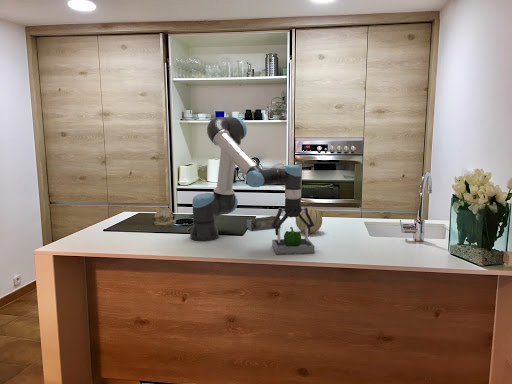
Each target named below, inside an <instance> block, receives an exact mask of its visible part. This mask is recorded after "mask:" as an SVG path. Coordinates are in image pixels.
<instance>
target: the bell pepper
mask: <svg viewBox="0 0 512 384" xmlns="http://www.w3.org/2000/svg"><path fill="white" fill-rule="evenodd" d="M289 229H290V231H288V230H286V231H285V232H284V234H283V239H284V242H285V245H286V247H291V246H300V243H301V239H302V235H301V232H300V231H295V230H294V227H292V226H290V227H289Z"/></svg>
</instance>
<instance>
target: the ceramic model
mask: <svg viewBox="0 0 512 384" xmlns="http://www.w3.org/2000/svg"><path fill="white" fill-rule="evenodd" d="M173 217H174V213H173V211H172V210H170V209H169V208H166V207H163V208H160V209H158V210H157V212H155V213H154V219H155V221H153V224H154V225H155V226H173V224H174V225H176V224H175V223H177V219H174V218H173Z"/></svg>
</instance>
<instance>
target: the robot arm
mask: <svg viewBox="0 0 512 384" xmlns="http://www.w3.org/2000/svg"><path fill="white" fill-rule="evenodd" d="M247 130H248V129H247V125H246V123H245V122H244V120H243V119H241V118H240V117H234V116H227V117H226V116H225V117H223V116H218V117H214V118H212V119H211V120H210V121H209V122H208V123H207V127H206V133H207V137H208V138H209V140H210V141H211V143H213V145H215V146H216V147H217V146H218V148H220V155H219V163H218V171H217V172H218V173H217V183H216V187H214V189H213V193H212V192H204V193H199V194H195V196H193V198H192V204H191V205H192V206H191V207H192V223H193V224H192V227H191V230H190V234H189V236H190V237H189V238H190V240H193V241H198V242H199V241H200V242H207V241H214V240H217V239H218V238H219V231H218V227H217V225H216V220H215V219H216V217H218V216H223V215H229V214H231V213H234V211H235V210H236V209H237V207H238V198H237V195H236V193H235V190H233V185H234V177H235V168H236V167H237V168H238V169H239V170H240V171H241V172H242V173H243V174H244V175H245V181H246V184H247V185H248V186H249V187H250V188H260V187H264V186H265V187H266V186H272V185H284V197H285V198H284V208H283V207H282V208H281V207H278V210H277V213H276V215H275V216H276V217H275V219H274V221H273V223H272V227H273V229H275V230H274V231H275V233H274V234H275V236H277V239H278V242H280V239H281V229H280V228H281V226H282V225H283V224H284V222H285V221H286V220H287V219H288V218H296V217H297V216H299V218H300V219H301V220H302V221H303V222H304V223H305V225H306V226H307V227H305V233H304V234H305V235H304V237H305V240H306V242H307V241H308V239H309V235H311V233H310V228H311V227H313V226H314V224H313V222H312V220H311V218H310V216H309V214H308V209H307V208H306V207H307V206H304V207H302V199H301V197H302V167H301V166H300V165H299V164H288V165H287V164H286V165H285V167H284V168H278V167H267V168H266V169H262V167H260V166H259V165H258V164H257V162H255V161H254V159H252V157H251V156H250V155H249V154H248V153H247V152H246V151H245V150H244V149H243V148H242V147H241V146H240V145H241V143H242V140H243V139H245V137H246V135H247V132H248V131H247ZM301 211H303V212H305V214H306V216H307V218H308V220H309V222H310V224H308V223H307V222H306V221H305V219H304V218H303V217H302V216H301V215H300V213H301ZM283 212H284V214H283ZM282 214H283V216H282V218H281V215H282ZM279 218H280V221H279V222H278V223H277V221H278V219H279ZM276 223H277V225H276ZM279 227H280V228H279Z"/></svg>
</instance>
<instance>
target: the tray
mask: <svg viewBox="0 0 512 384" xmlns="http://www.w3.org/2000/svg"><path fill="white" fill-rule="evenodd" d="M271 242H272V243H271V244H272V247H271V248H272V249H273V251H274V253H275V255H276V256H282V255H287V256H288V255H308V254H309V255H310V254H311V255H312V254H313V255H314V254H315V245H314V244H313V243H312V241H311V240H310V239H309V238H308V241H307V242H306V240H305V238H301V243H300V246H291V247H286V245H285V242H284V238H283V239H282V238H280V242H278V238H275V239H271Z"/></svg>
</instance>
